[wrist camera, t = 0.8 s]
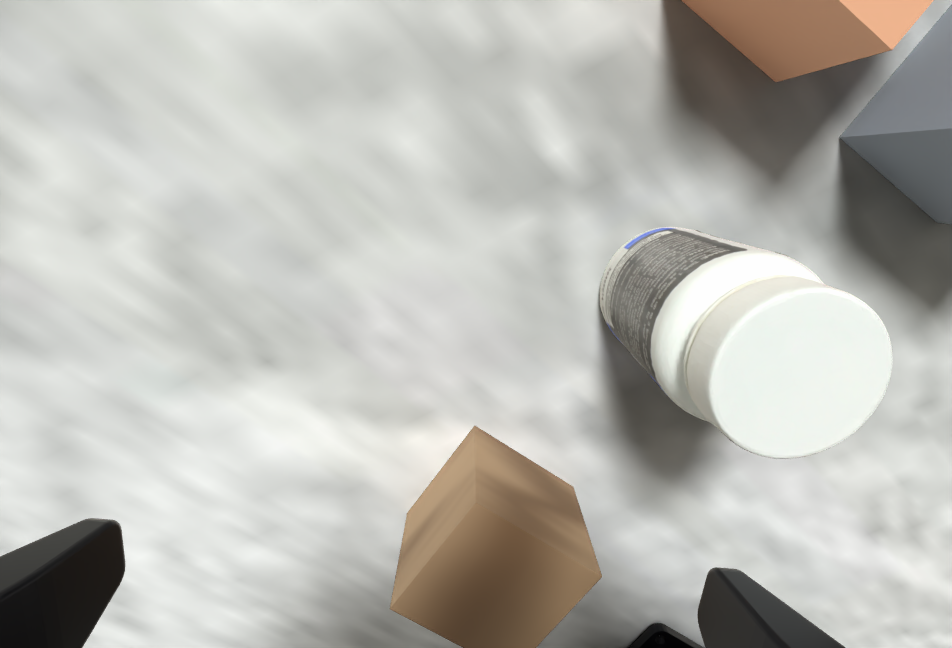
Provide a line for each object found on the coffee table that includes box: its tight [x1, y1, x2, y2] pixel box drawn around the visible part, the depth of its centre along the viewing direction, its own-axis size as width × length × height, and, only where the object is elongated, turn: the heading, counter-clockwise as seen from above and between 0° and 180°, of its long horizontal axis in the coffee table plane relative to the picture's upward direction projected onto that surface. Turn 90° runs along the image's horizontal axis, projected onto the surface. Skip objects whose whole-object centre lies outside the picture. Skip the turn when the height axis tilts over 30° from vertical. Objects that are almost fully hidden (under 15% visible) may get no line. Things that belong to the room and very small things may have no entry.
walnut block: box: [390, 426, 602, 648], centre depth 19 cm, size 5×5×5 cm
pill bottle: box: [600, 227, 892, 459], centre depth 15 cm, size 5×5×8 cm
